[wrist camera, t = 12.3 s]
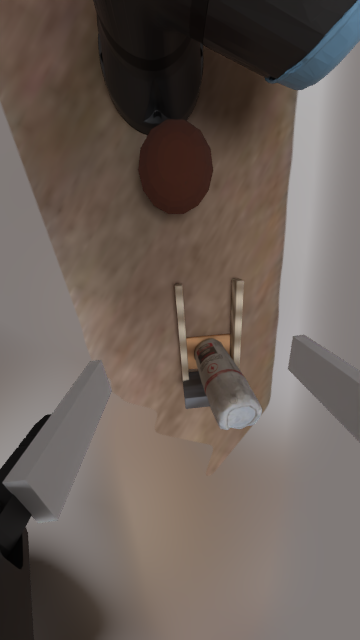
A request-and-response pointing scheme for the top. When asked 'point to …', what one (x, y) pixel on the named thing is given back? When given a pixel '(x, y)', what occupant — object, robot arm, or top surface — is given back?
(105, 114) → the top surface
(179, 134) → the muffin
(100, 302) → the top surface
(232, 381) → the grey cylinder
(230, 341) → the track
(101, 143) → the top surface
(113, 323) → the top surface
